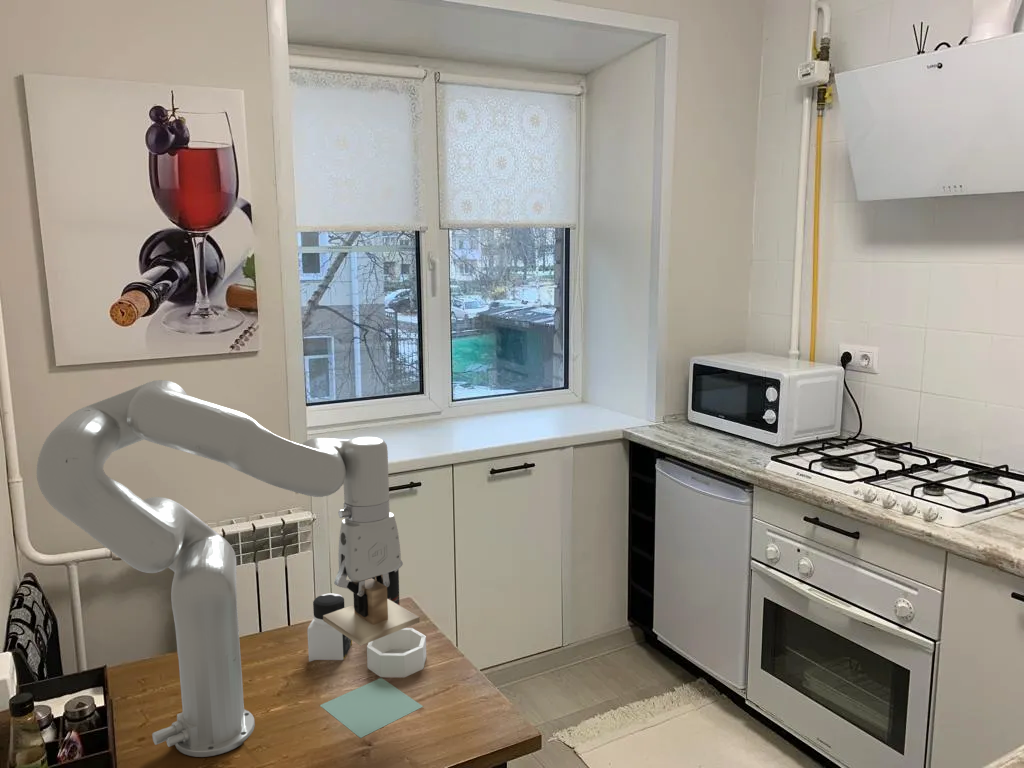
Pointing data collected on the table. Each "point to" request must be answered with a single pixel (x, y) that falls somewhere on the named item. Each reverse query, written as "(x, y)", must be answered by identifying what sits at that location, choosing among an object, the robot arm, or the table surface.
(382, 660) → the bowl
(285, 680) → the table surface
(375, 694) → the mat
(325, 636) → the medicine bottle
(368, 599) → the lid
